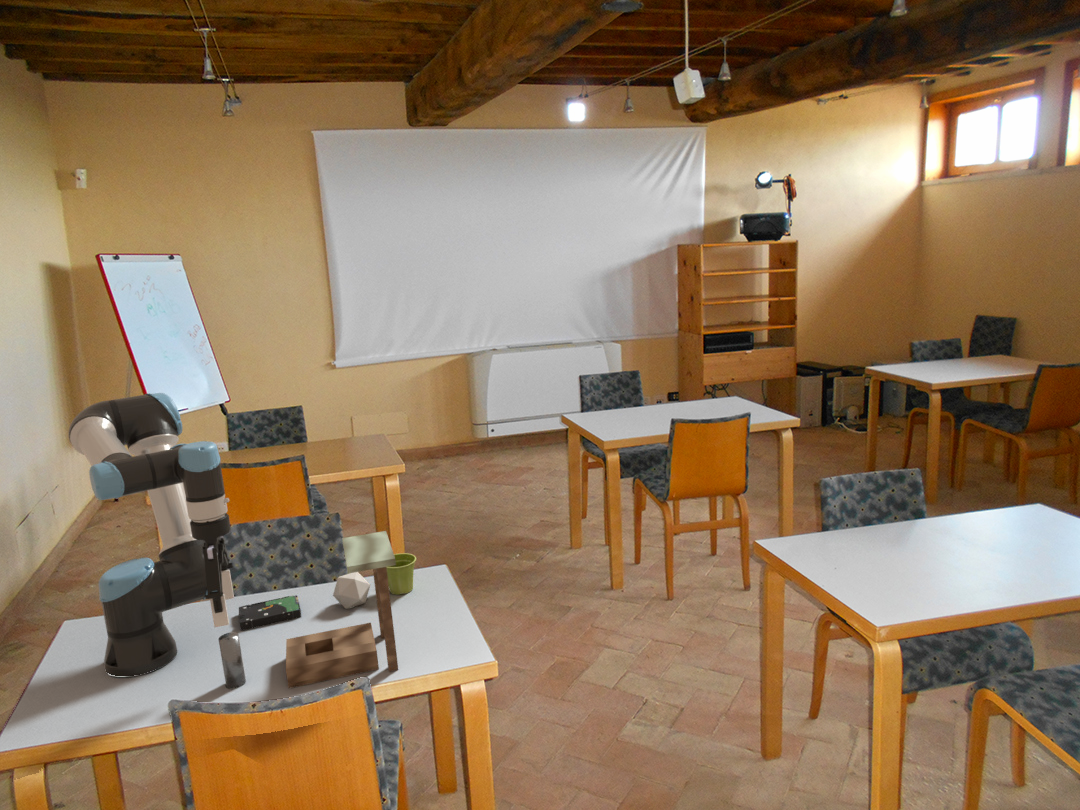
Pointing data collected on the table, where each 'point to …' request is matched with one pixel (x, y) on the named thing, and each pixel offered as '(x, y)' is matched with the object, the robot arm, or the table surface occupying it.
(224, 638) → the peg
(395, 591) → the plant pot
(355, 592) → the die
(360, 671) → the socket stand
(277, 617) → the disk drive
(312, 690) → the table surface
